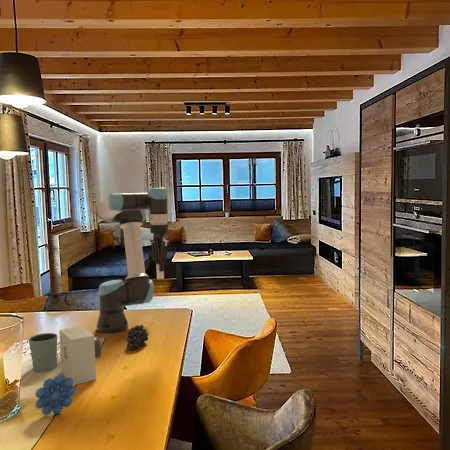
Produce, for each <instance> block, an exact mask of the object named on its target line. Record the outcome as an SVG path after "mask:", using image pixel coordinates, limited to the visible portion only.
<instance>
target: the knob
mask: <svg viewBox="0 0 450 450" xmlns="http://www.w3.org/2000/svg"><path fill="white" fill-rule="evenodd" d="M94 343H95V360H97V359H101V356H102V347H101V342H100V339H99V337H98V336H94ZM66 355H67V358H68V349H66Z"/></svg>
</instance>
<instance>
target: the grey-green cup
mask: <svg viewBox="0 0 450 450" xmlns="http://www.w3.org/2000/svg"><path fill="white" fill-rule="evenodd" d="M28 344H29V350H30V356H31V360H32V362H31V363H32V369H33V371H34V372H49V371H52V370H54V369H55V368H57V366H58V358H57V356H58V334H56V333H55V332H54V333H53V332H47V333H45V332H44V333H40V334H35V335H32V336H30V337H29V338H28Z"/></svg>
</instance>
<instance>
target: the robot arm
mask: <svg viewBox="0 0 450 450" xmlns="http://www.w3.org/2000/svg"><path fill="white" fill-rule="evenodd" d="M107 198H108V199H107V200H103V201H101V202H100V203H99V204H98V205H97V207H96V214H97V217H98V218H99V219H100V220H101V221H103V222H105V223H111V224H119V227H120V229H122V230H123V238H124V241H123V242H124V248H125V258H126V259H125V260H126V269H127V276H126V277H125V281H124V280H122V279H112V280H108V281H105V282H103V283H100V284H99V287H98V303H99V316H98V319H97V322H96V325H95V326H96V331H97V332H99V333H103V334H104V333H106V334H108V333H109V334H111V333H119V332H123V331H125V330H127V329H128V328H129V322H128V319H127V317H126V314H125V307H126V306H128V307H129V306H136V305H145V304H149V303H150V302H151V301H152V300H153V299H154V293H155V287H154V286H155V284H154V282H153V281H154V280H152V279H150V277H149V275H148V274H147V273H146V269H145V259H144V258H145V257H144V251H143V242H142V235H141V234H142V233H141V227H142V226H143V222H144V221H145V220H146V210H149V217H148V218H149V224H150V225H149V230H150V231H149V233H150V234H152V235H153V236H152V238H151V239H150V246H151V251H152V258H153V262H155V264H156V265H155V266H156V279H157V280H164V279H165V269H164V267H165V266H164V265H165V264H166V263H167V261H168V259H167V257H168V247H169V244H170V241H168V240H167V239H166V234H168V232H169V225H168V222H169V219H168V215H169V214H168V191H167V188H166V187H150V188H149V190H148V192H132V193H131V192H129V193H127V192H123V193H122V192H121V193H120V192H114V193H110V194H109V195H108V197H107Z"/></svg>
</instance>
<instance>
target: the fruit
mask: <svg viewBox="0 0 450 450" xmlns="http://www.w3.org/2000/svg"><path fill="white" fill-rule="evenodd" d="M127 334H128V336H127V339H126V342H127V344H126V347H127V348H129V349H130V350H131V351H134V350H135V349H138V348H139V347H140V346H143V345H145V342H147V341H148V340H149V337H148V336H149V333H148V332H147V329H146V328H144V325H143V324H140V325H135V326H132V327H130V330H129V331H128V333H127ZM139 349H140V348H139Z"/></svg>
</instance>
